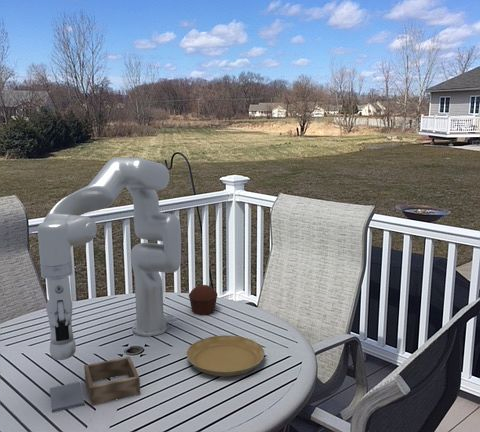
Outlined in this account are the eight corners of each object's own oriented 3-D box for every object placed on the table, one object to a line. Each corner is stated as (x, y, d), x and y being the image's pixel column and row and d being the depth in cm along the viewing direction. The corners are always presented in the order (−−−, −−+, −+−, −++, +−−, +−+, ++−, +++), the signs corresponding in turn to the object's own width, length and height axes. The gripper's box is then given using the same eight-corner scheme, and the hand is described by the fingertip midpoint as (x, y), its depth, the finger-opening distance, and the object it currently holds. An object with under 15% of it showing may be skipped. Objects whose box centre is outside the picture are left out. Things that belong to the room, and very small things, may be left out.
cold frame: (130, 371, 143) (129, 356, 142) (140, 394, 132) (139, 377, 131) (85, 381, 138) (84, 365, 137) (91, 405, 126) (89, 388, 125)
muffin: (189, 305, 194) (188, 282, 192) (216, 304, 195) (216, 281, 193) (189, 317, 182) (188, 292, 180) (218, 316, 183) (218, 291, 182)
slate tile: (80, 384, 137) (79, 381, 136) (84, 404, 127) (84, 402, 127) (49, 390, 133) (49, 388, 133) (52, 412, 123) (51, 409, 123)
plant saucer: (227, 336, 167) (227, 328, 166) (280, 361, 150) (280, 351, 149) (171, 361, 150) (170, 351, 150) (223, 391, 133) (223, 380, 133)
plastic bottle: (81, 353, 130) (76, 282, 126) (65, 365, 123) (59, 291, 120) (62, 349, 132) (56, 280, 128) (44, 361, 126) (38, 288, 122)
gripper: (75, 277, 117) (80, 346, 120) (69, 258, 132) (73, 320, 136) (42, 281, 114) (48, 352, 117) (39, 261, 129) (45, 325, 133)
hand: (61, 334), depth 126 cm, fingers closed on plastic bottle, 5 cm apart
